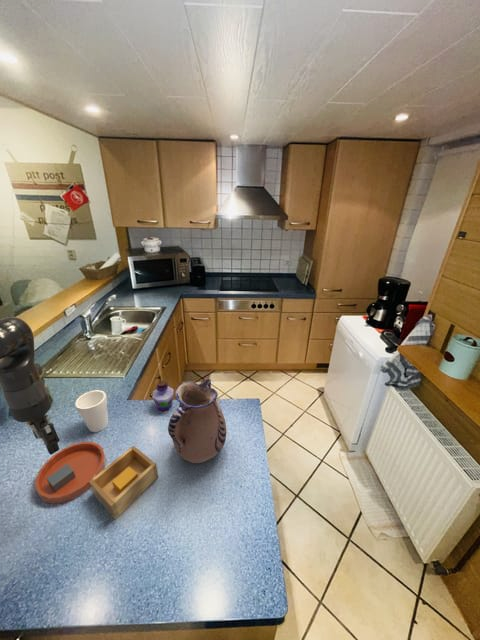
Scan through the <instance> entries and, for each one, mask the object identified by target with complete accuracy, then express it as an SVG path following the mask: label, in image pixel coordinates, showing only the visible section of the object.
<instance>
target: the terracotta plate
mask: <svg viewBox="0 0 480 640" xmlns="http://www.w3.org/2000/svg"><path fill="white" fill-rule="evenodd" d="M66 464H68V465H69V466H70V467H71V469H72V470H73V471H74V474H75V476H76V477H75V478H74V479H72V480H71V481H70V482H68V483H67V484H66V485H64V486H63V487H62V488H61V489H59V490H58V491H57V492H55V491H54V490H53V489H52V487H51V486H50V485H49V483H48V481H47V479H46V478H47V477H49V476H50V475H52V474H53V473H54V472H56V471H57V470H59V469H60V468H62V467H63V466H64V465H66ZM106 464H107V457H106V455H105V451H104V448H103V447H102V446H101V445H100V444H99V443H97V442H93V441H81V442H76V443H73V444H71V445H69V446H66V447H64V448H62V449H61V450H58V451H57V452H55V453H54V454H52V456H51V457H50V458H49V459H47V461H45V462H44V464H43V465H42V467H41V468H40V469H39V471H38V472H37V475H36V478H35V480H34V487H35V491H36V493H37V495H38V496H39V497H40V499H41V500H42V501H43V502H46V503H48V504H62V503H67V502H69V501H72V500H74V499H76V498H78V497H80V496H82V495H83V494H85V493H86V492H87V491H88V490H90V489H91V487H90V484H89V481H90V480H91V479H93V478H94V477H95V476H96V475H98V474H99V473H100V472H101V471H102V470H104V469H105V468H106V466H107V465H106Z"/></svg>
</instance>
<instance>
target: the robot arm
mask: <svg viewBox="0 0 480 640" xmlns="http://www.w3.org/2000/svg"><path fill="white" fill-rule="evenodd" d="M35 354H36V353H35V338H34V332H33V330H32V328H31V327H30V325H29V324H28V323H27V322H26V321H25V320H23V319H21V318H19V317H16V316H6V317H3V318H1V319H0V388H1V391H2V394H3V397H4V400H5V402H6V404H7V406H8V409H9V410H10V413H11V415H12V417H13V419H14V420H15V421H16V422H19V423H26V426H27V427H28V429H29V428H30V430H31V431H32V433H33V435H34V438H35V439H37V440H40V439H41V440H42V442H43V445H44V446H45V447H46V450H47V451H48V454H49V455H52V456H53V455H55V454H56V453H58V452H59V451H60V446H59V444H58V443H59V442H60V441H61V440H60V437H59V435H58V433H57V430H56V428H55V426H54V423H52V422H51V418H50V416H49V415H48V414H47V413H48V412H49V411H50V409H51V408H52V404H51V401H50V398H49V395H48V393H47V390H46V388H45V385H44V382H43V381H42V379H41V378H40V375H39V373H38V370H37V367H36V365H35V364H36V363H35Z"/></svg>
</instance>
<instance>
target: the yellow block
mask: <svg viewBox="0 0 480 640" xmlns="http://www.w3.org/2000/svg"><path fill="white" fill-rule="evenodd" d="M136 478H138V474H137V473H136V472H135V471H134V470H133V469H132V468H130V467H128V468H127V469H126V470H124V471H123V472H122V473H121V474H120V475H119V476H118V477H116V478H115V479H114V480H113V481H112V483H113V486H114V488H115V489H116V490H117V491H118V492H119V493H121V492H123V491H124V490H125V489H126V488H127V487H128V486H129V485H130V484H131V483H132V482H133V481H134V480H135V479H136Z"/></svg>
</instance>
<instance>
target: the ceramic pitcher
mask: <svg viewBox="0 0 480 640" xmlns="http://www.w3.org/2000/svg"><path fill="white" fill-rule="evenodd" d="M174 392H175V393H174V394H175V400H176V401H177V403H179V404H178V407H177V408H176V409H175V411H174V412H173V413H172V415H171V416H170V419H169V422H168V425H167V431H168V435H169V437H170V439H171V440H172V444H173V447H174V448H175V451H176V452H177V454H178V455H179V456H180V457H181V458H182V459H184V460H185V461H186V462H189V463H193V464H201V463H204V462H207V461H209V460H210V459H213V458H214V457H215V456H217V455H218V454H219V453H220V452H221V451H222V450H223V448H224V445H225V443H226V439H227V423H226V419H225V416H224V413H223V411H222V408H221V404H220V403H219V401H218V400H217V399H218V396H219V393H218V392H217V390H216V389H215V388H213V387H212V379H211V378H204V379H202V380H201V381H200V383H199V384H198V383H196V382H195V381H190V380H189V381H186V382H182V383H181V384H180V385H178V387H177V389H176V390H175V391H174Z"/></svg>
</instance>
